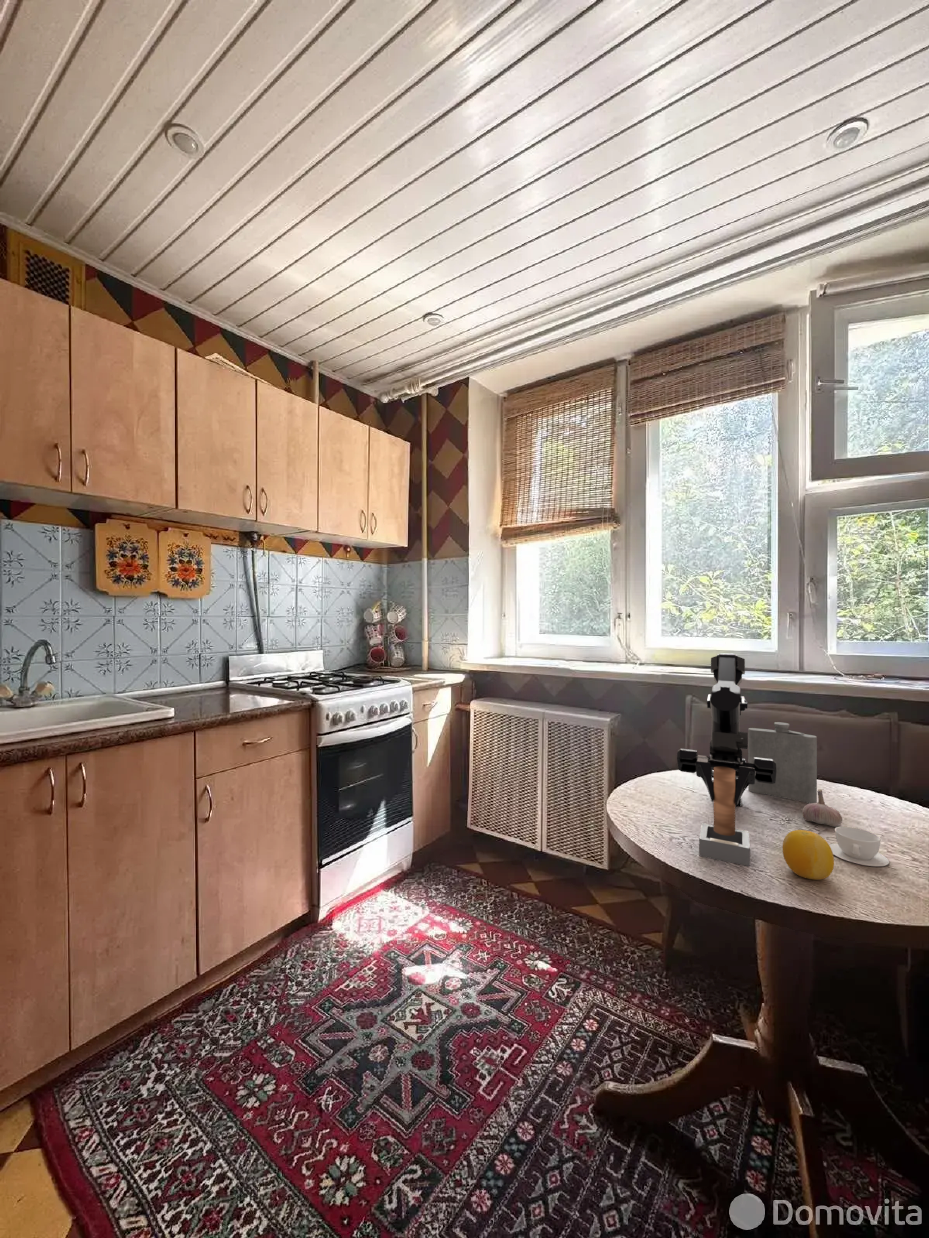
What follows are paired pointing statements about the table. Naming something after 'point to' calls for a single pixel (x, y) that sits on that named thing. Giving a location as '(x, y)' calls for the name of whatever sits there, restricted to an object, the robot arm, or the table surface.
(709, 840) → the socket block
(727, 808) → the peg
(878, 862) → the teacup
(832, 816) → the garlic bulb
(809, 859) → the fruit
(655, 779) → the table surface
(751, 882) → the table surface
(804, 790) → the hip flask
